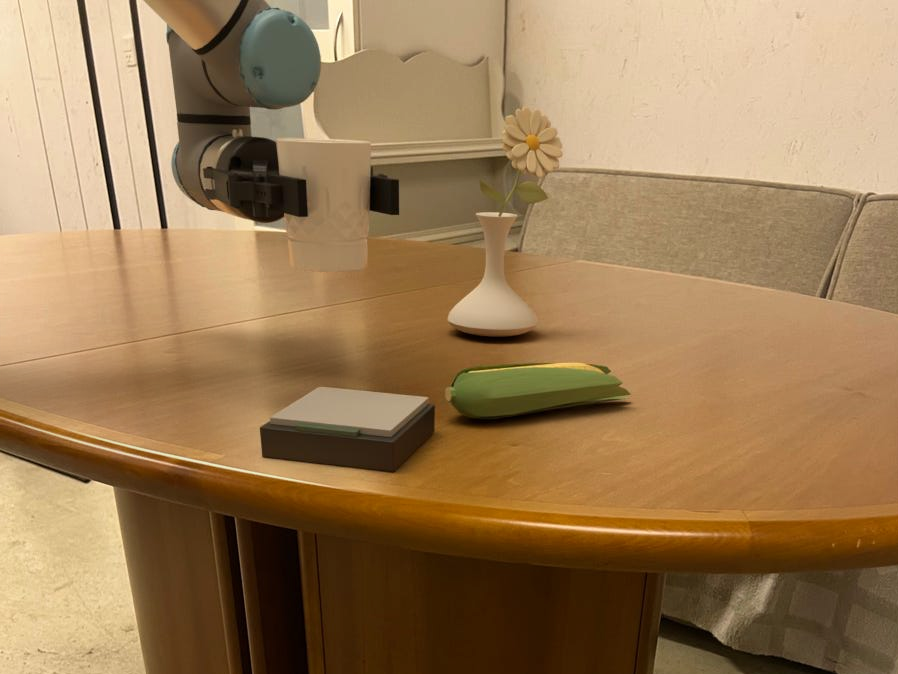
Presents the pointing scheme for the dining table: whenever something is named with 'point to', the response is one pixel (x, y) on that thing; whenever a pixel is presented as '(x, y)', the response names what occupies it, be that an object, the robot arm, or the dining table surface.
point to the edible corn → (530, 388)
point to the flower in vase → (493, 299)
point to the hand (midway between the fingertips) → (349, 197)
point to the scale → (349, 428)
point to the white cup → (328, 203)
